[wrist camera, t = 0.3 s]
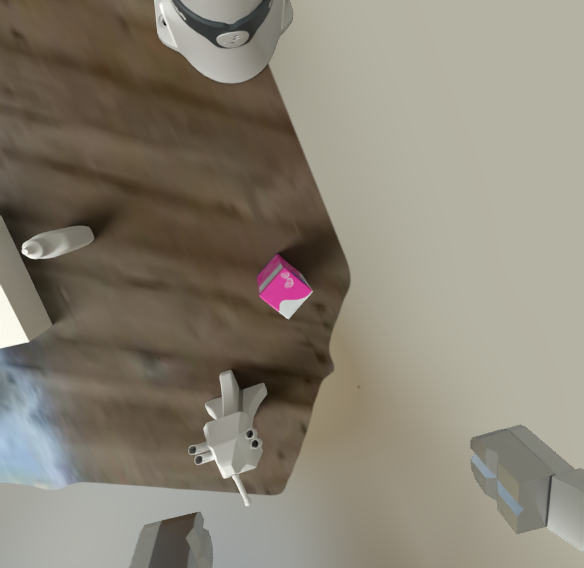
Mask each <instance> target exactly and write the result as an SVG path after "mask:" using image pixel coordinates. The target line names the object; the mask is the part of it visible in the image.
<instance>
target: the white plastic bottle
mask: <svg viewBox="0 0 584 568" xmlns="http://www.w3.org/2000/svg"><path fill="white" fill-rule="evenodd" d="M93 240H94V235H93V233H92V231H91V229H90V228H89V227H88V226H72V227H67V228H62V229H58V230H53V231H49V232H44V233H41V234H38V235H36V236H34V237H32V238H31V239H30V240H28V241H26V242H24V243H23V245H22V253H23V254H24V255H26V256H27V257H29V258H31V259H39V258H40V259H47V258H53V257H57V256H60V255H62V254H65V253H68V252H71V251H74V250H76V249H79V248H82V247H85V246H87V245H88V244H90V243H91V242H92V241H93Z"/></svg>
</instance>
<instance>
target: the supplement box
mask: <svg viewBox="0 0 584 568" xmlns="http://www.w3.org/2000/svg"><path fill="white" fill-rule="evenodd" d="M257 281H258V289H259V296H260V298H262V299H263V300H264V301H265V302H267V303H268V304H269V305H270V306H272V307H273V308H274V309H276V310H277V311H278V312H279V313H281V314H282V315H283V316H285V317H286V318H287V319H289V318H290V317H291V316H292V315H293V314H294V313H295V311H296V310H297V309H298V308H299V307H300V306H301V305H302V303H303V302H304V301H305V300H306V299H307V298H308V297H309V296H310V294H311V293H312V292H313V290H312V289H311V287H310V286H309V284H308V283H307V281H306V280H305V278H304V277H303V275H302V274H301V273H300V272H299V271H298V270H296V269H295V268H294V267H293V266H291V265H290V264H289V263H288V262H287V261H286V260H284V259H283V258H282V257H281V256H280V255H279V254H278V253H277V254H276V255H275V256H274V257H273V259H272V260H271V261H270V262H269V263H268V264H267V265H266V266H265V268H264V269H263V270H262V271H261V272H260V273H259V275H258V276H257Z"/></svg>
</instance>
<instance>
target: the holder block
mask: <svg viewBox="0 0 584 568" xmlns="http://www.w3.org/2000/svg"><path fill="white" fill-rule="evenodd" d="M51 326H53V325H52V323H51V320H50V318H49V316H48V314H47V312H46V310H45V308H44V305H43V303H42V301H41V299H40V297H39V295H38V293H37V291H36V288H35V286H34V284H33V282H32V280H31V278H30V276H29V274H28V271H27V269H26V267H25V265H24V263H23V261H22V259H21V257H20V254H19V252H18V250H17V248H16V246H15V244H14V242H13V239H12V237H11V235H10V233H9V231H8V229H7V227H6V225H5V222H4V220H3V218H2V216H1V215H0V348H4V347H8V346H13V345H17V344H22V343H27V342H30V341H31V340H33V339H34V338H36V337H37V336H38V335H40V334H41V333H43V332H44V331H46V330H47V329H48V328H50V327H51Z"/></svg>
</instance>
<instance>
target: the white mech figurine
mask: <svg viewBox="0 0 584 568" xmlns="http://www.w3.org/2000/svg"><path fill="white" fill-rule="evenodd" d="M220 382H221V389H222V397H219V398H216V399H213V400H210V401H207V402H206V404H205V407H206V409H207V411H208V413H209V415H211V416H212V417H213V418H214V419H215V420H214V421H211V422H208V423H206V425H205V427H204V433H205V437H206V441H207V442H204V443H201V444H197V445H192V446H190V447H189V450H188V452H189V454H190V455H195V454H199V453H202V452H205V451H208V450H211V452H208V453H205V454H201V455H198V456H196V457H195V463H196V464H197V465H200V464H203V463H206V462H209V461H211V460H214V459H215V461H216V463H217V465H218V467H219V470H220V472H221V474H222V476H223V478H224V479H225V478H228V477H231V476H232V477H233V479H234V480H235V482H236V484H237V486H238V488H239V490H240V493H241V495H242V497H243V499H244V503H245V505H246V506H249V505H251V499H250V498H249V497H248V495H247V493H246V491H245V489H244V487H243V484H242V482H241V480H240V478H239V473H242V472H245V471H248V470H251V469H254V468H256V467H257V464H258V461H259V459H260V457H261V454H262V452H263V450H262V448H261V446H262V440H261V439H259V438H257V430H256V429H253V427H252V424H253V418H254V416H255V413H256V411H257V409H258V407H259V405H260V403H261V402H262V400H263V399H264V398H265V396H266V395H267V389H266V387H265V384H264V383H260V384H258V385H255V386H252V387H249V388H246V389H242V388H239V386H238V384H237V382H236V379H235V377H234V375H233V372H232V370H228V371H225V372H222V373H221V374H220Z"/></svg>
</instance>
